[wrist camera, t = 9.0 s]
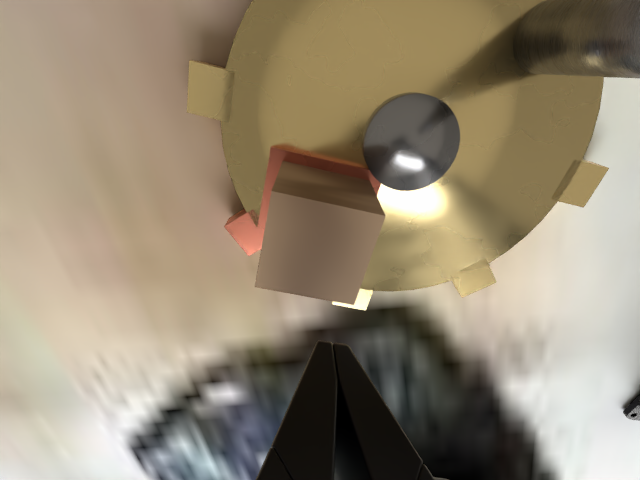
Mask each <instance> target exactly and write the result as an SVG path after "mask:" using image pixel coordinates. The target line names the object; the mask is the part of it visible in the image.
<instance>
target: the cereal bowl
mask: <svg viewBox="0 0 640 480" xmlns="http://www.w3.org/2000/svg"><path fill="white" fill-rule="evenodd" d="M433 478H434V479H435V480H449V479H445V478H438V477H433Z"/></svg>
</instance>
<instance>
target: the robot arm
mask: <svg viewBox="0 0 640 480" xmlns="http://www.w3.org/2000/svg"><path fill="white" fill-rule="evenodd" d="M623 413H624V414H625V416H626V417H627V418H628V419H633V420H639V421H640V395H639V396H638V397H637V398H636V399H635V400H634V401H633V402H632V403H631V404H630V405H629V406H628V407H627V408H626V409H625V410H624V411H623ZM422 464H423V461H422V459H421V458H420V456H419V455H418V453H417V451H416V450H415V448H414V447H413V445H412V444H411V442H410V441H409V439H408V437H407V436H406V434H405V433H404V431H403V430H402V428H401V427H400V425H399V423H398V422H397V420H396V419H395V417H394V416H393V414H392V413H391V411H390V409H389V408H388V406H387V405H386V403H385V402H384V400H383V399H382V397H381V395H380V394H379V392H378V391H377V389H376V388H375V386H374V385H373V383H372V381H371V380H370V378H369V377H368V375H367V374H366V372H365V371H364V369H363V367H362V366H361V364H360V363H359V361H358V360H357V358H356V357H355V355H354V353H353V352H352V350H351V349H350V347H349V346H348V345H346V344H341V343H333V344H332V343H331V342H327V341H320V340H319V341H317V343H316V345H315V347H314V350H313V352H312V354H311V356H310V359H309V361H308V363H307V366H306V368H305V370H304V372H303V375H302V377H301V379H300V381H299V384H298V386H297V388H296V391H295V393H294V395H293V397H292V400H291V402H290V404H289V407H288V409H287V411H286V413H285V416H284V418H283V420H282V423H281V425H280V427H279V429H278V432H277V434H276V436H275V438H274V441H273V443H272V445H271V448H270V449H269V452H268V454H267V456H266V459H265V461H264V463H263V465H262V467H261V470H260V472H259V474H258V476H257V478H256V480H435V479H434V478H433V476H432V475H431V473H430V471H429V470H428V468H427V467H426V465H424V464H423V465H422Z"/></svg>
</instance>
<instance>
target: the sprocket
mask: <svg viewBox="0 0 640 480" xmlns="http://www.w3.org/2000/svg"><path fill="white" fill-rule="evenodd" d="M604 77H621V78H640V0H253V1H252V2H251V4H250V6H249V7H248V9H247V11H246V13H245V15H244V17H243V19H242V22H241V24H240V26H239V29H238V31H237V33H236V36H235V38H234V40H233V44H232V47H231V51H230V54H229V58H228V61H227V65H226V68H224V67H221V66H217V65H213V64H209V63H205V62H201V61H193V60H189V77H188V98H187V112H188V113H192V114H196V115H200V116H204V117H209V118H213V119H217V120H221V132H222V142H223V149H224V154H225V158H226V162H227V167H228V171H229V174H230V177H231V179H232V182H233V185H234V187H235V190H236V193H237V195H238V197H239V199H240V200H241V202H242V204H243V206H244V208H245V209H243V210H241V211H240V212H238V213H236V214H235V215H233V216H232V217H230V218H229V219H228V221H227V223H226V225H225V226H224V227H225V228H226V229H227V231H228V232H229V233H230V234H231V235H232V237H233V238H234V239H235V240H236V241H237V243H238V244H239V245H240V246H241V247H242V249H243V250H244V251H245V252H246V253H247V255H248V256H249V255H251V254H253V253H255V252H256V251H258V250H261V248H262V242H263V237H264V231H265V225H266V219H267V214H268V208H269V202H270V197H271V191H272V188H273V186H274V183H275V180H276V177H277V175H278V172H279V169H280V167H281V164H282V161H287V162H291V163H295V164H300V165H304V166H308V167H313V168H317V169H321V170H326V171H330V172H335V173H339V174H343V175H348V176H352V177H356V178H361V179H365V180H369V181H370V182H371V184H372V187H373V189H374V191H375V193H376V195H377V198H378V200H379V202H380V204H381V207H382V209H383V211H384V213H385V215H386V216H385V219H384V222H383V225H382V228H381V231H380V233H379V236H378V239H377V242H376V245H375V248H374V250H373V253H372V256H371V259H370V262H369V264H368V267H367V270H366V273H365V276H364V279H363V281H362V284H361V287H360V290H359V293H358V296H357V298H356V301H355V304H354V305H350V304H344V303H339V302H333V301H332V304H334V305H340V306H345V307H350V308H356V309H361V310H366V308H367V305H368V303H369V300H370V297H371V295H372V292H373V291H403V290H414V289H419V288H425V287H430V286H434V285H438V284H441V283H444V282H448V281H451V280H452V282H453V284H454V286H455V288H456V289H457V291H458V292H459V294H460V296H461V297H462V298H463V297H465V296H467V295H469V294H472V293H474V292H476V291H478V290H481V289H483V288H485V287H487V286H490V285H492V284H494V283H496V280H495V278H494V276H493V273H492V271H491V269H490V267H489V265H488V263H490V262H491V261H493V260H494V259H496V258H498V257H499V256H501V255H502V254H504V253H505V252H507V251H508V250H509V249H511V248H512V247H513V246H514V245H516V244H517V243H518V242H519V241H520V240H522V239H523V238H524V237H525V236H526V235H527V234H528V233H529V232H530V231H531V230H533V229H534V228H535V227H536V226H537V225H538V224H539V223H540V222H541V221H542V219H543V218H544V217H545V216H546V215H547V214H548V212H549V211H550V210H551V209H552V208H553V206H554V205H555V204H556V203H557V201H559V202H564V203H568V204H572V205H576V206H580V207H584V206H585V205H586V203H587V202H588V200H589V198H590V197H591V195H592V194H593V192H594V191H595V189H596V188H597V186H598V185H599V183H600V181H601V180H602V178H603V177H604V175H605V174H606V172H607V171H608V169H609V168H607V167H605V166H602V165H599V164H596V163H593V162H590V161H586V160H583V157H584V155H585V152H586V150H587V147H588V145H589V142H590V140H591V137H592V135H593V131H594V127H595V124H596V120H597V116H598V113H599V109H600V102H601V95H602V89H603V78H604Z"/></svg>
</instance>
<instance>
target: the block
mask: <svg viewBox="0 0 640 480" xmlns="http://www.w3.org/2000/svg"><path fill="white" fill-rule="evenodd" d="M385 216H386V215H385V213H384V211H383V209H382V207H381V204H380V202H379V200H378V198H377V195H376V193H375V191H374V189H373V187H372V184H371V182H370V181H369V180H365V179H361V178H356V177H352V176H348V175H343V174H339V173H335V172H330V171H326V170H321V169H317V168H313V167H308V166H304V165H300V164H295V163H291V162H287V161H282V164H281V167H280V169H279V172H278V175H277V177H276V180H275V183H274V186H273V188H272V191H271V197H270V202H269V208H268V214H267V219H266V225H265V231H264V237H263V242H262V248H261V254H260V259H259V265H258V271H257V277H256V282H255V287H258V288H263V289H269V290H274V291H279V292H285V293H290V294H296V295H301V296H306V297H312V298H317V299H323V300H328V301H333V302H339V303H344V304H350V305H354V304H355V301H356V298H357V296H358V293H359V290H360V287H361V284H362V281H363V279H364V276H365V273H366V270H367V267H368V264H369V262H370V259H371V256H372V253H373V250H374V248H375V245H376V242H377V239H378V236H379V233H380V231H381V228H382V225H383V222H384V219H385Z"/></svg>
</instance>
